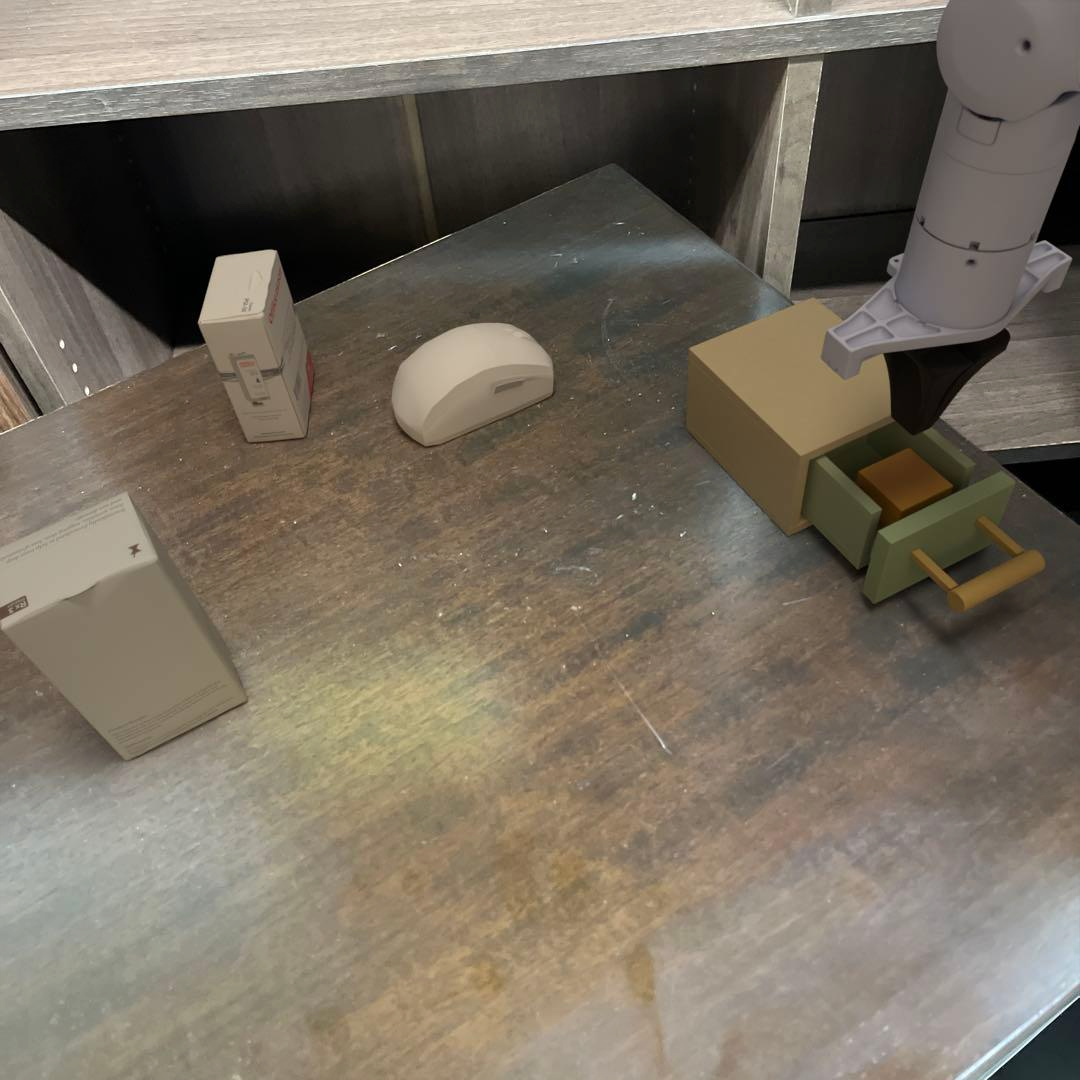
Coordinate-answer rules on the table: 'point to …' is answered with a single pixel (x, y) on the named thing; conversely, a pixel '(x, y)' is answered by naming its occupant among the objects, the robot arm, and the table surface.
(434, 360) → the computer mouse
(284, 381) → the ink box
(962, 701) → the table surface
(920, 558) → the drawer
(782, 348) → the cabinet
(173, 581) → the cosmetic box
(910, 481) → the block
